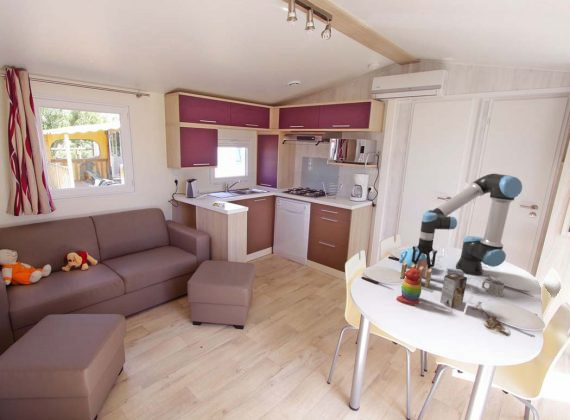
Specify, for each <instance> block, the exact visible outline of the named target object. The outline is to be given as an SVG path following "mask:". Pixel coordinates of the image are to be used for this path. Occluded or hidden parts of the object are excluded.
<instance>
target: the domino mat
mask: <svg viewBox="0 0 570 420" xmlns="http://www.w3.org/2000/svg"><path fill="white" fill-rule="evenodd" d="M425 281H426V280H421V291H426V292H429V293H434V290H435V289H436V287H437V284H436V283H432V282H430V284H429V287H428V288H425Z"/></svg>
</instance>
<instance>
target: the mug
mask: <svg viewBox="0 0 570 420" xmlns="http://www.w3.org/2000/svg"><path fill="white" fill-rule="evenodd" d="M486 284H489V286H488V287H485V285H486ZM505 286H506V284H505V283H504V282H502V281H499V280H496V279H491V280H483V282H482V284H481V288H482V289H483V290H486V291H487V292H488V294H490V295H491V296H495V297H499V298H500V297H503V293H504V290H505Z"/></svg>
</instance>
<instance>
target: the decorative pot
mask: <svg viewBox="0 0 570 420" xmlns="http://www.w3.org/2000/svg"><path fill="white" fill-rule="evenodd" d="M419 252H420V251H419V249H418V248H417V249H416V255H415V261H416V258H417V256H418V254H419ZM412 255H413V247H410V246H409V247H408V248H407V247H406V249H405V250H402V251H401V252H400V258H399V261H398V263H400V264H403V263H404V262H407V269H408V270H409V269H410V266H411V265H412V264H414V263H413V262H412ZM419 260H423V261H427V256H426V254H421V256H420V258H419ZM417 263H418V262H417Z"/></svg>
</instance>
